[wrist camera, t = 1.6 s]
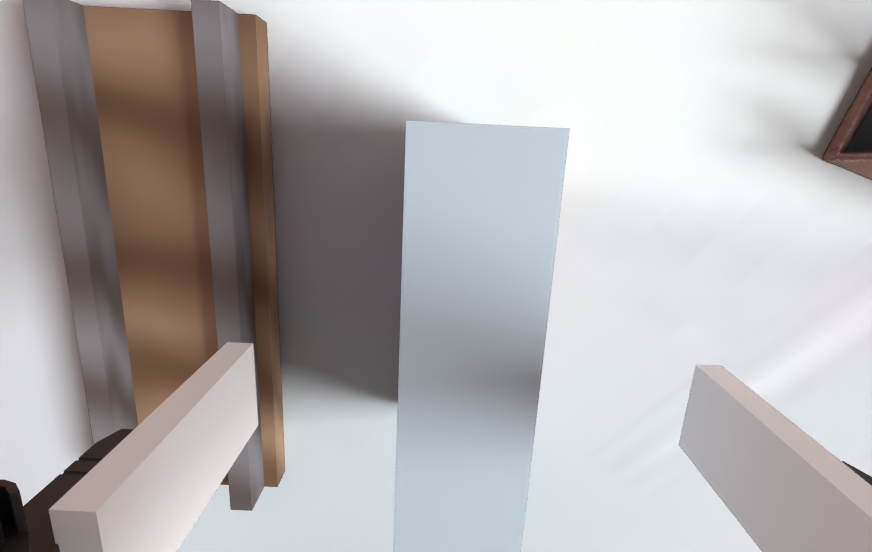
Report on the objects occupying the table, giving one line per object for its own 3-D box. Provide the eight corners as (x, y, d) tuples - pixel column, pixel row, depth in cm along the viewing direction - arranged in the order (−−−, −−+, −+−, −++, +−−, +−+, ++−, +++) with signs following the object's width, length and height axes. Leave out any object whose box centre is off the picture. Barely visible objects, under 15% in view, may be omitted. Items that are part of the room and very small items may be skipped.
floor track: (285, 470, 30) (265, 511, 27) (128, 463, 30) (89, 503, 27) (266, 22, 24) (238, 2, 20) (64, 12, 24) (2, -11, 20)
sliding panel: (477, 408, 29) (511, 632, 16) (412, 405, 29) (391, 627, 16) (498, 139, 25) (569, 128, 12) (423, 135, 25) (406, 120, 12)
